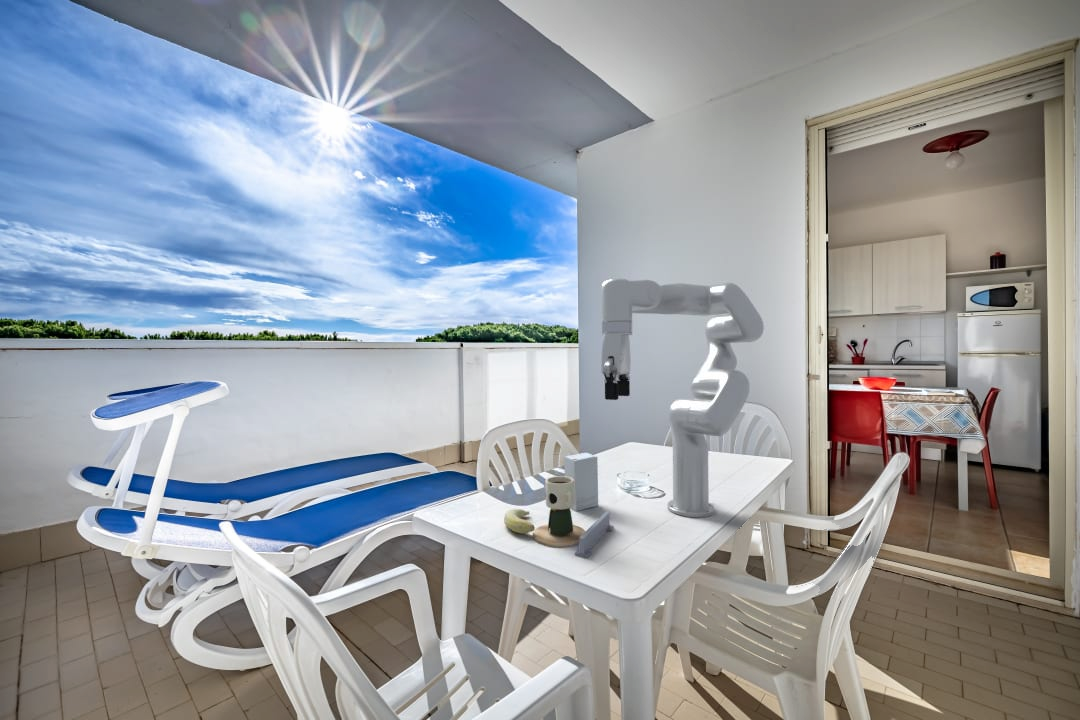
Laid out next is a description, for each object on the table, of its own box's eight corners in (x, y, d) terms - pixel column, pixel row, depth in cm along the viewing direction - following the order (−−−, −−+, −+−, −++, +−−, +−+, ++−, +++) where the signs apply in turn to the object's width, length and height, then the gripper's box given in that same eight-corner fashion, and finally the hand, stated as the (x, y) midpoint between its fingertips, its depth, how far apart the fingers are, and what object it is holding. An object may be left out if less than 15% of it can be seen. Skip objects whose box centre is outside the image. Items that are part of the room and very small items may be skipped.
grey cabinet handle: (602, 526, 116) (602, 510, 116) (613, 528, 115) (613, 512, 115) (574, 555, 100) (574, 537, 100) (587, 557, 98) (587, 539, 98)
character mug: (538, 527, 114) (537, 476, 114) (562, 522, 117) (562, 472, 117) (557, 543, 104) (557, 487, 104) (584, 538, 107) (583, 483, 107)
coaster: (547, 522, 119) (547, 519, 119) (593, 530, 113) (593, 527, 113) (523, 541, 108) (523, 538, 108) (573, 551, 102) (573, 548, 102)
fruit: (505, 538, 108) (504, 525, 108) (503, 517, 123) (502, 505, 123) (535, 535, 109) (534, 521, 109) (529, 514, 124) (528, 502, 124)
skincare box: (587, 500, 136) (586, 451, 136) (599, 506, 131) (598, 455, 130) (563, 505, 132) (563, 455, 132) (575, 512, 127) (574, 459, 126)
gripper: (613, 331, 122) (613, 394, 123) (590, 328, 107) (591, 400, 107) (640, 330, 119) (641, 395, 119) (621, 327, 104) (622, 401, 104)
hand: (617, 397), depth 113 cm, fingers open, 9 cm apart
